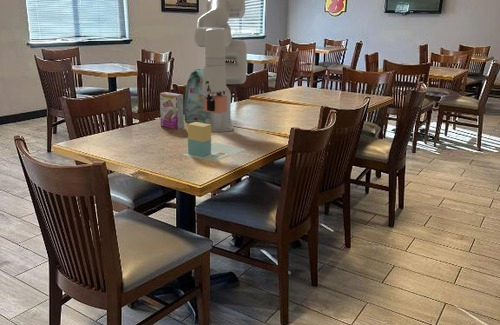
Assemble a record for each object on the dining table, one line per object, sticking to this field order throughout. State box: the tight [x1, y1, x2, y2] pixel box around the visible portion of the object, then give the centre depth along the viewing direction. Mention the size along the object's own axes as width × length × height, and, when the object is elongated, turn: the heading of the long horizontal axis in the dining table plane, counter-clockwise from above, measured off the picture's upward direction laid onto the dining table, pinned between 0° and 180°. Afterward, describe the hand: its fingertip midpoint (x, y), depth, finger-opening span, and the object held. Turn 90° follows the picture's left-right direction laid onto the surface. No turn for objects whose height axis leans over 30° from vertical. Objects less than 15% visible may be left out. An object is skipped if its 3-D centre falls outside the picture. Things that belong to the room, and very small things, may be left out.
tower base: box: [187, 121, 212, 157], centre depth 180 cm, size 8×5×12 cm, turn 58°
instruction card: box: [208, 152, 229, 158], centre depth 181 cm, size 6×6×1 cm
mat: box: [181, 142, 247, 163], centre depth 185 cm, size 16×22×1 cm
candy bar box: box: [159, 91, 185, 130], centre depth 222 cm, size 11×5×16 cm, turn 58°
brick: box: [204, 94, 227, 114], centre depth 179 cm, size 8×5×6 cm, turn 59°
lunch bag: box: [183, 67, 211, 124], centre depth 240 cm, size 23×16×27 cm
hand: (215, 109), depth 180 cm, fingers closed on brick, 5 cm apart
